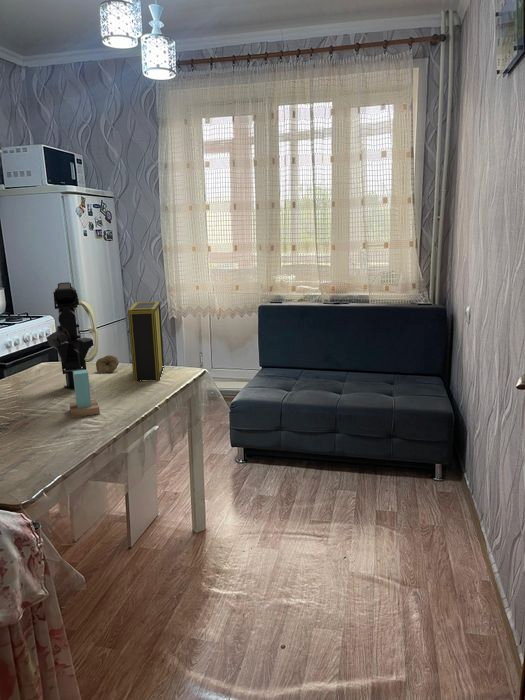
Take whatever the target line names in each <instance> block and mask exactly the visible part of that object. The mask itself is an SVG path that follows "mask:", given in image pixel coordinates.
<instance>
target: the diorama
mask: <svg viewBox="0 0 525 700" xmlns="http://www.w3.org/2000/svg"><path fill="white" fill-rule="evenodd" d="M161 311H162V310H161V302H160V301H147V302H146V301H143V302H139V301H138V302H137V301H136V302H135V303H134V304H133V305H132V306H130V308H129V309H128V310H127V315H128V317H127V318H128V327H129V328H128V331H129V338H130V339H129V340H130V342H129V343H130V352H131V353H130V354H131V364H132V365H131V366H132V378H133V382H134V381H137V382H143V381H142V380H159V381H161V379H160V377H161V378H162V376H161V374H162V375H163V373H162V371H163V368H164V369H165V356H164V342H163V326H162V312H161ZM162 366H164V367H162ZM163 372H164V371H163ZM140 380H141V381H140Z"/></svg>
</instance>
